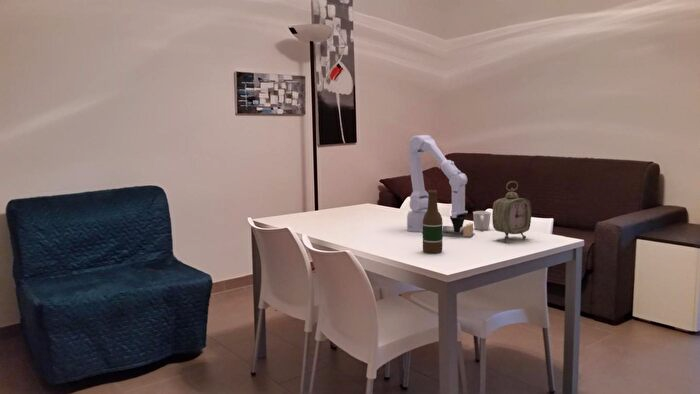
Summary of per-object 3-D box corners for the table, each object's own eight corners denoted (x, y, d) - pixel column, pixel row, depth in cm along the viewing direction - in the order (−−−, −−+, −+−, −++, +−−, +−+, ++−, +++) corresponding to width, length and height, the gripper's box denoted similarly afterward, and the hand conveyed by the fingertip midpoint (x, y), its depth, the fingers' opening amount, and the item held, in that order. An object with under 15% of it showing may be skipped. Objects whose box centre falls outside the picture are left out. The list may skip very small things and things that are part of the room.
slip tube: (442, 233, 244) (442, 226, 243) (444, 232, 246) (444, 225, 246) (467, 235, 239) (467, 227, 238) (468, 233, 242) (468, 226, 241)
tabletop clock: (506, 244, 223) (507, 183, 220) (490, 240, 230) (491, 181, 227) (530, 239, 230) (532, 180, 227) (513, 236, 238) (515, 179, 235)
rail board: (427, 234, 244) (427, 223, 243) (433, 231, 251) (433, 220, 250) (470, 238, 236) (470, 226, 235) (474, 234, 243) (474, 223, 242)
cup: (491, 232, 247) (491, 214, 246) (473, 231, 249) (473, 214, 248) (490, 227, 258) (490, 211, 257) (472, 227, 259) (472, 210, 258)
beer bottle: (420, 249, 216) (420, 189, 213) (439, 249, 216) (440, 188, 213) (424, 254, 208) (424, 191, 205) (444, 253, 209) (445, 191, 206)
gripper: (463, 203, 232) (462, 235, 234) (471, 199, 245) (470, 229, 247) (446, 202, 235) (446, 233, 237) (455, 198, 248) (455, 228, 250)
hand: (458, 231), depth 242 cm, fingers closed on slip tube, 3 cm apart
